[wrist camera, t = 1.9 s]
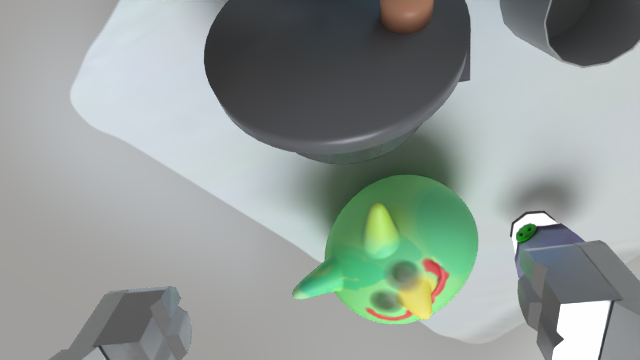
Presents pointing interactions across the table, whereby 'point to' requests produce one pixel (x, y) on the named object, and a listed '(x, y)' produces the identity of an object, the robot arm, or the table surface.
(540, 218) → the potion bottle
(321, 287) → the toy bird
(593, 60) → the cup
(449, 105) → the table surface
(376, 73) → the lid
